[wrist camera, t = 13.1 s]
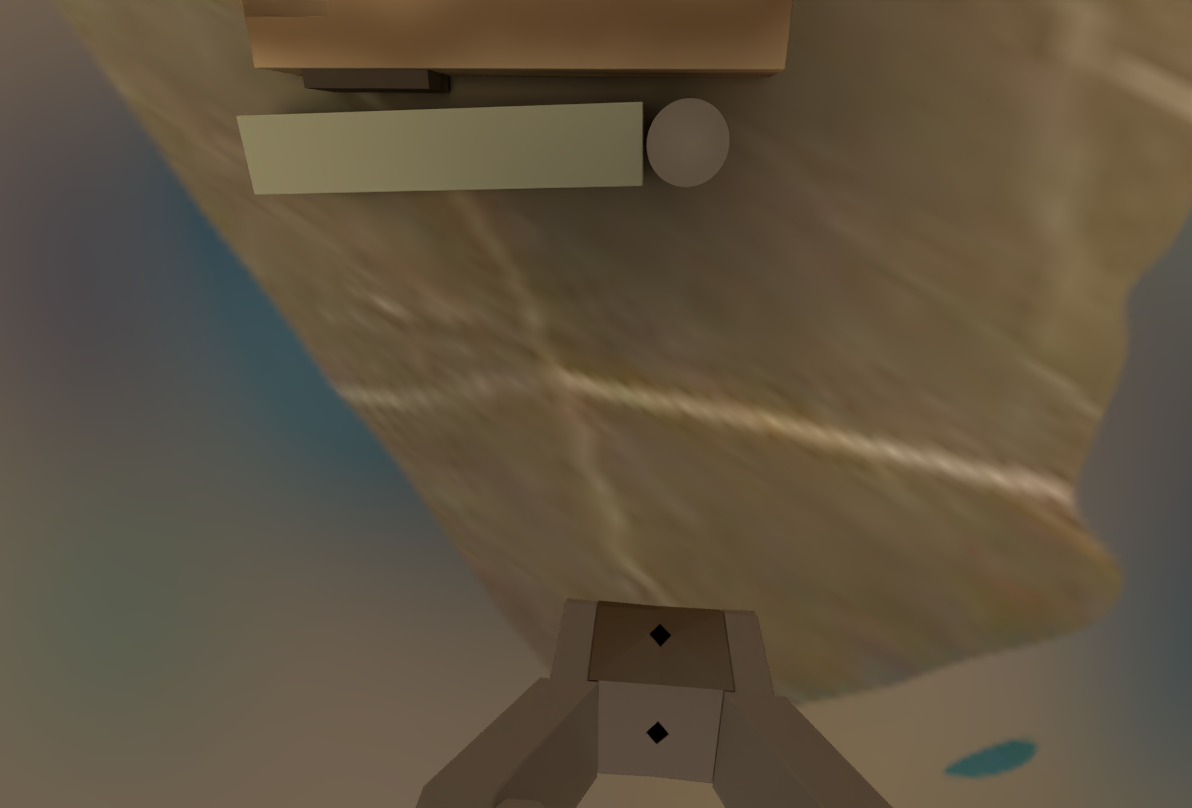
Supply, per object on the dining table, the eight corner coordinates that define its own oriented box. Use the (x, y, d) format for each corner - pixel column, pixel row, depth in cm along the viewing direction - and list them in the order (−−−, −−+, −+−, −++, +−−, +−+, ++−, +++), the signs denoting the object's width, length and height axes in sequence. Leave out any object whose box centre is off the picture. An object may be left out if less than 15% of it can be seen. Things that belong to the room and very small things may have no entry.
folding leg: (720, 102, 31) (732, 96, 26) (716, 178, 32) (727, 186, 28) (285, 117, 33) (225, 114, 28) (300, 188, 34) (245, 196, 30)
